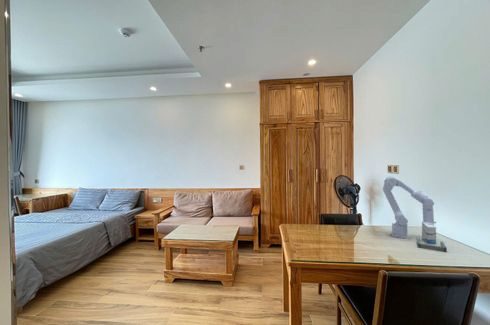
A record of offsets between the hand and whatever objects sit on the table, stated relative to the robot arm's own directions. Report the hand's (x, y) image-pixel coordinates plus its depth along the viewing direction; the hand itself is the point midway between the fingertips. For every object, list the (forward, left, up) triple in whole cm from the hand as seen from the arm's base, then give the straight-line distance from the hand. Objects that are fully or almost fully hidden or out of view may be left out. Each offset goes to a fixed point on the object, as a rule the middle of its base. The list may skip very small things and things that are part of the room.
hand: (429, 234), depth 150 cm
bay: (-1, -15, -4) cm, 15 cm away
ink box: (-1, -5, -3) cm, 6 cm away
